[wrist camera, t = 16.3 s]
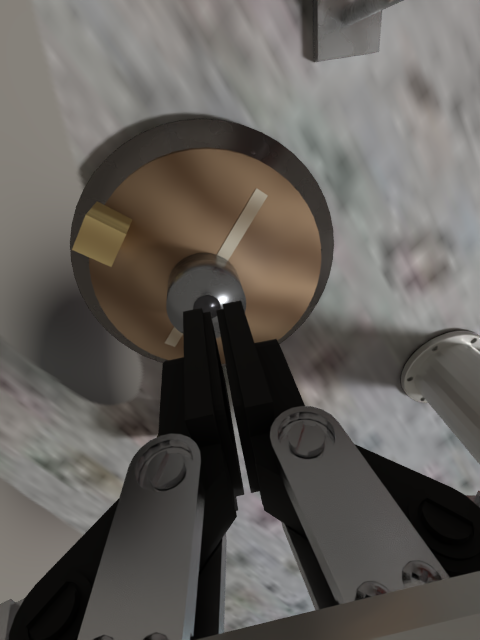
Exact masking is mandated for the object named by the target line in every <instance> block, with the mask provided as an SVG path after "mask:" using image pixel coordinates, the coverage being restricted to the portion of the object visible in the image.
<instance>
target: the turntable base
mask: <svg viewBox="0 0 480 640" xmlns="http://www.w3.org/2000/svg"><path fill="white" fill-rule="evenodd" d="M205 147H209V148H220V149H227V150H231V151H235V152H240V153H243V154H245V155H248V156H250V157H253V158H255V159H257V160H259V161H261V162H263V163H264V164H266V165H268V166H269V167H271V168H273V169H274V170H275V171H277V172H278V173H279V174H280V175H282V176H283V177H284V178H285V179H287V180H288V181H289V182H290V183H291V184H292V185H293V186H294V188H295V189H296V190H297V191H298V192H299V193H300V195H301V196H302V198H303V199H304V200H305V202H306V203H307V205H308V207H309V209H310V211H311V213H312V215H313V217H314V219H315V223H316V226H317V229H318V232H319V238H320V243H321V268H320V275H319V279H318V283H317V287H316V289H315V292H314V295H313V297H312V299H311V301H310V303H309V305H308V307H307V309H306V310H305V312H304V313H303V315H302V316H301V318H300V319H299V320H298V322H297V323H296V324H295V325H294V326H293V327H292V328H291V330H289V331H288V332H287V333H286V334H285V335H284V336H283V337H282V338H281V339H279V340H278V343H279V344H280V343H281V342H283V341H284V340H285V339H287V338H288V337H289V336H290V335H292V334H293V333H294V332H295V331H296V330H297V329H298V328H299V327H300V326H301V325H302V324H303V322H304V321H305V320H306V319H307V317H308V316H309V315H310V314H311V312H312V311H313V309H314V308H315V306H316V305H317V303H318V301H319V299H320V297H321V295H322V293H323V291H324V289H325V286H326V283H327V280H328V278H329V274H330V270H331V265H332V260H333V249H334V240H333V227H332V221H331V216H330V212H329V209H328V206H327V203H326V200H325V197H324V195H323V193H322V191H321V189H320V187H319V185H318V183H317V182H316V180H315V179H314V177H313V176H312V174H311V173H310V172H309V170H308V169H307V167H306V166H305V165H304V164H303V163H302V162H301V161H300V160H299V159H298V158H297V157H296V156H295V155H294V154H293V153H292V152H291V151H289V150H288V149H287V148H286V147H284V146H283V145H282V144H280V143H279V142H278V141H276V140H274V139H272V138H271V137H269V136H267V135H265V134H263V133H262V132H259V131H257V130H254V129H251V128H249V127H246V126H244V125H241V124H236V123H232V122H227V121H223V120H212V119H192V120H180V121H176V122H172V123H168V124H164V125H160V126H158V127H155V128H153V129H150V130H148V131H145V132H143V133H141V134H139V135H138V136H136V137H134V138H133V139H131V140H129V141H128V142H126V143H124V144H123V145H122V146H121V147H119V148H118V149H117V150H116V151H115V152H113V153H112V154H111V155H110V156H109V157H108V158H106V160H105V161H104V162H103V163H102V164H101V165H100V167H99V168H98V169H97V170H96V171H95V172H94V174H93V175H92V177H91V178H90V180H89V182H88V183H87V185H86V186H85V188H84V190H83V192H82V194H81V197H80V199H79V202H78V204H77V206H76V210H75V214H74V218H73V222H72V227H71V238H70V250H71V262H72V267H73V272H74V276H75V279H76V282H77V285H78V288H79V290H80V293H81V295H82V297H83V298H84V300H85V302H86V304H87V306H88V308H89V309H90V311H91V312H92V313H93V315H94V316H95V318H96V319H97V320H98V321H99V322H100V323H101V324H102V326H103V327H104V328H105V329H106V330H107V331H108V332H109V333H110V334H112V335H113V336H114V337H115V338H116V339H117V340H119V341H120V342H121V343H123V344H124V345H126V346H127V347H129V348H130V349H132V350H134V351H136V352H138V353H139V354H141V355H143V356H145V357H148V358H151V359H153V360H156V361H158V362H162V363H163V362H164V361H167V360H166V359H163V358H160V357H158V356H155V355H153V354H151V353H149V352H147V351H145V350H143V349H142V348H140V347H138V346H137V345H135V344H134V343H133V342H131V341H130V340H128V339H127V338H126V337H125V336H124V335H123V334H122V333H121V332H120V331H119V330H117V328H116V327H115V326H114V325H113V324H112V322H111V321H110V320H109V319H108V317H107V316H106V314H105V312H104V311H103V309H102V308H101V306H100V304H99V301H98V299H97V297H96V295H95V292H94V288H93V285H92V282H91V276H90V269H89V257H87V256H85V255H83V254H81V253H78V252H76V251H74V250H72V248H73V246H74V243H75V241H76V238H77V236H78V233H79V230H80V228H81V225H82V223H83V220H84V218H85V215H86V214H87V212H88V211H89V210H90V209H91V208H92V207H93V205H94V204H95V203H96V202H99V203H101V204H103V205H105V203H106V202H107V201H108V199H109V198H110V196H111V195H112V194H113V192H114V191H115V190H116V188H117V187H118V186H119V185H120V184H121V183H122V182H123V181H124V180H125V179H126V178H127V177H128V176H129V175H130V174H132V173H133V172H134V171H136V170H137V169H138V168H140V167H141V166H143V165H144V164H146V163H148V162H150V161H152V160H154V159H155V158H157V157H160V156H163V155H166V154H169V153H171V152H175V151H180V150H184V149H189V148H205ZM222 366H226V363H225V364H222Z"/></svg>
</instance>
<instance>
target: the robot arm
mask: <svg viewBox="0 0 480 640" xmlns="http://www.w3.org/2000/svg"><path fill="white" fill-rule="evenodd" d="M216 312H217V318H218V324H219V329H220V335H221V340H222V346H223V351H224V357H225V363H226V368H227V374H228V379H229V385H230V391H231V396H232V402H233V407H234V412H235V417H236V422H237V427H238V432H239V437H240V441H241V446H242V451H243V456H244V461H245V465H246V470H247V475H248V480H249V485H250V490H251V493H253V492H258V491H260V495H261V500H262V504H263V506H264V511H266V512H268V513H269V514H271V515H272V516H274V517H275V518H277V519H278V520H280V521H281V522H282V526H283V530H284V532H285V535H286V537H287V540H288V542H289V545H290V547H291V550H292V552H293V555H294V557H295V560H296V562H297V565H298V567H299V570H300V572H301V575H302V577H303V580H304V582H305V585H306V587H307V590H308V592H309V595H310V597H311V600H312V602H313V605H314V607H315V611H311V612H307V613H303V614H299V615H295V616H291V617H287V618H282V619H278V620H274V621H270V622H266V623H262V624H258V625H254V626H250V627H246V628H242V629H238V630H233V631H229V632H225V633H224V614H225V579H226V544H227V540H226V532H227V530H228V529H229V527H230V526H231V524H232V523H233V521H234V520H235V518H236V517H237V515H236V511H237V510H238V506H237V499H236V496H240V495H244V490H243V484H242V478H241V472H240V466H239V460H238V454H237V448H236V442H235V436H234V430H233V424H232V418H231V412H230V406H229V400H228V394H227V388H226V383H225V378H224V373H223V368H222V364H221V359H220V354H219V350H218V345H217V340H216V336H215V331H214V326H213V322H212V317H211V313H210V312H204V313H203V310H202V308H199V309H194V310H189V311H183V342H184V357H182V358H177V359H172V360H167V361H164V362H163V370H162V386H161V401H160V417H159V433H158V437H157V438H155V439H153V440H150V441H149V442H148V443H146V444H145V445H144V446H143V447H141V448H140V449H139V451H138V452H137V453H136V454H135V456H134V457H133V459H132V461H131V463H130V465H129V467H128V471H127V474H126V477H125V481H124V484H123V488H122V491H121V494H120V498H119V499H118V500H117V501H116V502H115V503H114V504H113V505H112V506H111V507H110V508H109V509H108V510H107V511H106V512H105V513H104V515H103V516H102V517H101V518H100V519H99V520H98V521H97V522H96V523H95V524H94V525H93V526H92V527H91V528H90V529H89V530H88V531H87V532H86V533H85V534H84V535H83V536H82V538H80V539H79V540H78V541H77V543H76V544H75V545H74V546H73V547H72V548H71V549H70V550H69V551H68V552H67V553H66V554H65V555H64V556H63V557H62V558H61V559H60V560H59V561H58V562H57V563H56V564H55V565H54V566H53V567H52V568H51V569H50V570H49V571H48V572H47V573H46V575H45V576H44V577H43V578H42V579H41V580H40V581H39V582H38V583H37V584H36V585H35V586H34V588H33V589H32V590H31V591H30V592H29V594H28V595H27V596H26V597H25V598H24V599H22V600H20V601H18V602H14V601H13V600H12V599H10V600H8V601H6V602H4V603H1V604H0V640H480V491H478V492H477V495H476V496H468V495H464V494H462V493H460V492H459V491H457V490H455V489H453V488H451V487H449V486H447V485H445V484H442V483H440V482H438V481H436V480H433V479H431V478H429V477H427V476H425V475H422V474H420V473H418V472H416V471H413V470H411V469H409V468H407V467H404V466H402V465H400V464H398V463H395V462H393V461H391V460H389V459H386V458H384V457H382V456H380V455H378V454H375V453H373V452H371V451H369V450H366V449H364V448H362V447H360V446H357V445H355V444H354V443H353V442H352V440H351V439H350V438H349V436H348V435H347V433H346V432H345V431H344V429H343V428H342V426H341V425H340V424H339V422H338V421H337V420H336V419H335V418H334V417H333V416H332V415H331V414H329V413H327V412H326V411H324V410H322V409H319V408H315V407H311V406H305V405H304V403H303V400H302V398H301V395H300V393H299V391H298V388H297V386H296V383H295V381H294V379H293V376H292V374H291V371H290V369H289V367H288V364H287V362H286V359H285V357H284V355H283V352H282V350H281V347H280V345H279V343H278V341H277V339H272V340H267V341H262V342H257V343H254V340H253V337H252V334H251V331H250V327H249V324H248V321H247V318H246V315H245V311H244V308H243V305H242V302H241V300H240V301H235V302H230V303H225V304H223V309H220V310H216ZM401 385H402V388H403V390H404V391H405V393H406V394H407V395H408V396H409V397H410V398H411V399H413V400H415V401H417V402H421V403H429V404H430V405H431V407H432V408H433V409H434V410H435V411H436V413H437V414H438V415H439V416H440V417H441V419H442V420H443V421H444V422H445V423H446V425H447V426H448V427H449V428H450V429H451V431H452V432H453V433H454V434H455V435H456V437H457V438H458V439H459V440H460V441H461V443H462V444H463V445H464V446H465V447H466V449H467V450H468V451H469V452H470V453H471V455H472V456H473V457H474V458H475V459H476V461H477V462H478V463H479V464H480V336H479V335H478V334H476V333H473V332H470V331H454V332H449V333H446V334H443V335H440V336H438V337H436V338H434V339H432V340H430V341H428V342H427V343H425V344H424V345H422V346H421V347H420V348H419V349H418V350H417V351H415V353H414V354H413V355H412V356H411V357H410V358H409V360H408V361H407V363H406V364H405V366H404V369H403V371H402V375H401Z"/></svg>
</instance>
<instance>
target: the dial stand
mask: <svg viewBox="0 0 480 640" xmlns="http://www.w3.org/2000/svg"><path fill="white" fill-rule="evenodd" d="M401 1H403V0H313V32H314V62H319V61H325V60H332V59H338V58H345V57H351V56H357V55H364V54H370V53H375V52H379V45H380V32H381V18H382V10H384V9H386V8H388V7H390V6H392V5H394V4H397V3H399V2H401Z"/></svg>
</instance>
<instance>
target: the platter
mask: <svg viewBox="0 0 480 640" xmlns="http://www.w3.org/2000/svg"><path fill="white" fill-rule="evenodd" d="M72 250H74V251H76V252H78V253H81V254H83V255H85V256H87V257H89V269H90V276H91V282H92V285H93V288H94V292H95V295H96V297H97V299H98V301H99V304H100V306H101V308H102V309H103V311H104V312H105V314H106V316H107V317H108V319H109V320H110V321H111V322H112V324H113V325H114V326H115V327H116V328H117V330H119V331H120V332H121V333H122V334H123V335H124V336H125V337H126V338H127V339H128V340H130V341H131V342H133V343H134V344H135V345H137V346H138V347H140V348H142V349H143V350H145V351H147V352H149V353H151V354H153V355H155V356H158V357H160V358H163V359H166V360H172V359H177V358H182V357H184V342H183V334H182V333H181V332H179V331H178V330H177V329H176V328H175V327H174V326H173V325H172V323H171V322H170V320H169V317H168V315H167V310H166V302H167V287H168V279H169V275H170V273H171V271H172V269H173V268H174V267H175V265H176V264H177V263H178V262H179V261H181V260H182V259H184V258H185V257H187V256H190V255H192V254H196V253H212V254H216V255H219V256H221V257H223V258H225V259H226V260H227V261H229V262H230V263H231V264H232V265H233V267H234V268H235V270H236V271H237V274H238V276H239V279H240V282H241V285H242V288H243V291H244V294H245V297H246V311H245V315H246V318H247V321H248V324H249V327H250V331H251V334H252V337H253V340H254V343H257V342H262V341H267V340H272V339H277V341H278V340H279V339H281V338H282V337H283V336H284V335H285V334H286V333H287V332H288V331H289V330H291V328H292V327H293V326H294V325H295V324H296V323H297V322H298V320H299V319H300V318H301V316H302V315H303V313H304V312H305V310H306V309H307V307H308V305H309V303H310V301H311V299H312V297H313V295H314V292H315V289H316V287H317V283H318V279H319V275H320V268H321V243H320V238H319V232H318V229H317V226H316V223H315V219H314V217H313V215H312V213H311V211H310V209H309V207H308V205H307V203H306V202H305V200H304V199H303V198H302V196H301V195H300V193H299V192H298V191H297V190H296V189H295V188H294V186H293V185H292V184H291V183H290V182H289V181H288V180H287V179H285V178H284V177H283V176H282V175H280V174H279V173H278V172H277V171H275V170H274V169H273V168H271V167H269V166H268V165H266V164H264V163H263V162H261V161H259V160H257V159H255V158H253V157H250V156H248V155H245V154H243V153H240V152H235V151H231V150H227V149H220V148H209V147H205V148H189V149H184V150H180V151H175V152H171V153H169V154H166V155H163V156H160V157H157V158H155V159H154V160H152V161H150V162H148V163H146V164H144V165H143V166H141V167H140V168H138V169H137V170H136V171H134V172H133V173H132V174H130V175H129V176H128V177H127V178H126V179H125V180H124V181H123V182H122V183H121V184H120V185H119V186H118V187H117V188H116V190H115V191H114V192H113V194H112V195H111V196H110V198H109V199H108V201H107V202H106V203H105V205H103V204H101V203H99V202H96V203H95V204H94V205H93V207H92V208H91V209H90V210H89V211H88V212H87V214H86V215H85V218H84V220H83V223H82V225H81V228H80V230H79V233H78V236H77V238H76V241H75V243H74V246H73V248H72ZM216 340H217V345H218V350H219V354H220V359H221V364H225V357H224V351H223V346H222V340H221V337H219V338H216Z"/></svg>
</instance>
